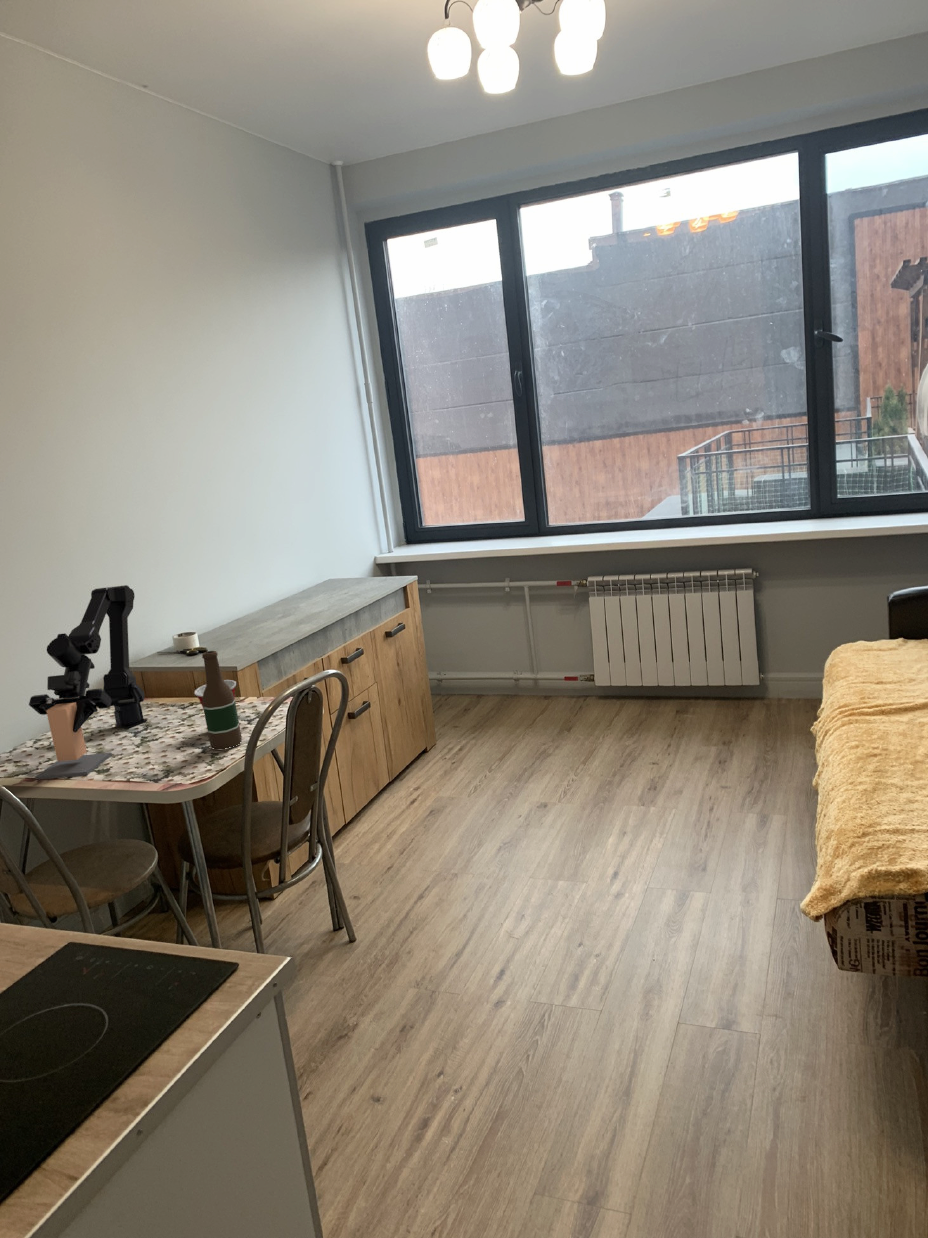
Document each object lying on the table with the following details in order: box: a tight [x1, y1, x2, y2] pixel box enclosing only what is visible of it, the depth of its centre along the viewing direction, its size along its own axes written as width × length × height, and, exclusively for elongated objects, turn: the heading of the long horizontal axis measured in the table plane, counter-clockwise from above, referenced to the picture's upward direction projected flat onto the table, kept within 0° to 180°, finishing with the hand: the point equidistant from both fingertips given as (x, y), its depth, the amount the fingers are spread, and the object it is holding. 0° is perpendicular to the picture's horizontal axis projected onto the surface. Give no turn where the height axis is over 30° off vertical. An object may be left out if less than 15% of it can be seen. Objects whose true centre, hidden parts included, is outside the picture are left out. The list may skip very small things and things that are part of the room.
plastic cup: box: [194, 679, 237, 708], centre depth 243 cm, size 11×11×12 cm
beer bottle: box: [201, 650, 243, 750], centre depth 229 cm, size 8×8×24 cm
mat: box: [34, 752, 112, 781], centre depth 229 cm, size 13×13×1 cm
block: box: [46, 702, 88, 761], centre depth 227 cm, size 5×5×13 cm
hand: (63, 732), depth 226 cm, fingers closed on block, 5 cm apart
